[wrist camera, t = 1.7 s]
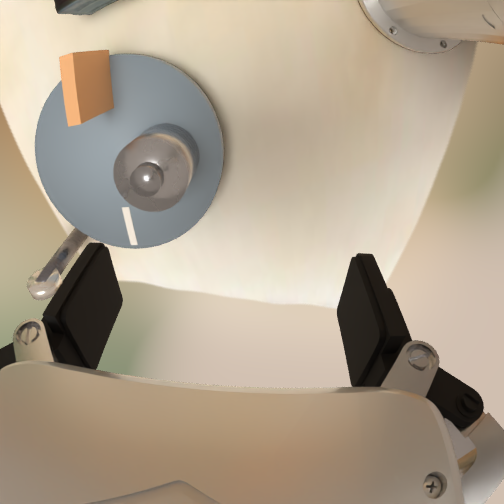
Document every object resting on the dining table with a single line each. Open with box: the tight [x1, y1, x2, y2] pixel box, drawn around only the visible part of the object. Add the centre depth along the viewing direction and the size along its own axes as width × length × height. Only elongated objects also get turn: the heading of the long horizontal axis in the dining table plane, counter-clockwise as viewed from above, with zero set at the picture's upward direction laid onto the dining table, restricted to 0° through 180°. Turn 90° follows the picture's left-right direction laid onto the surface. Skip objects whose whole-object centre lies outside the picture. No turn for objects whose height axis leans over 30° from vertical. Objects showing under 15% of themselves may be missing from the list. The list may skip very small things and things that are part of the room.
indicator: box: [27, 228, 87, 300], centre depth 30 cm, size 4×2×12 cm, turn 91°
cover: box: [113, 123, 199, 212], centre depth 24 cm, size 6×6×6 cm
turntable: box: [35, 50, 224, 249], centre depth 24 cm, size 20×20×8 cm
